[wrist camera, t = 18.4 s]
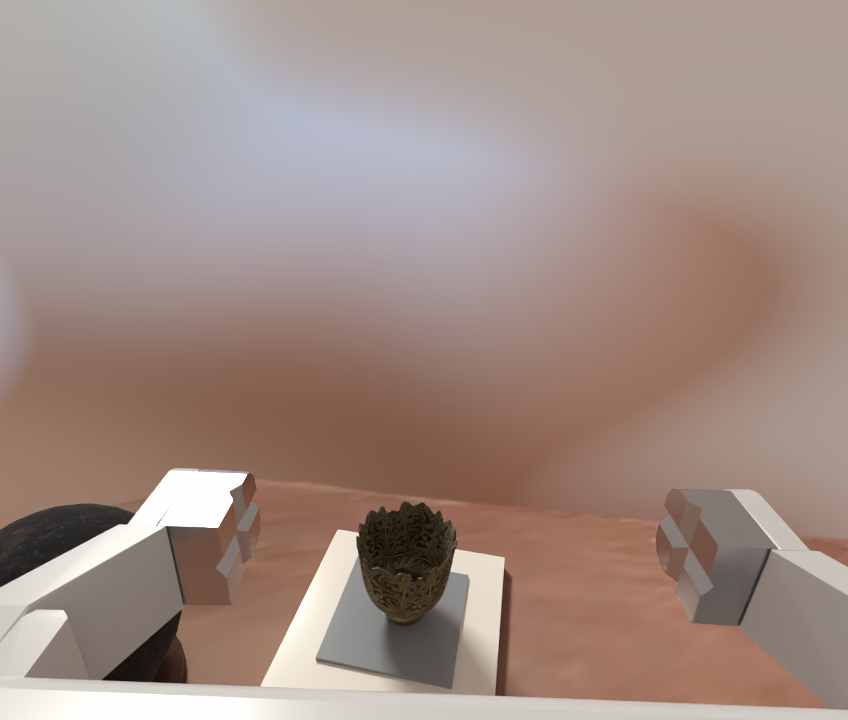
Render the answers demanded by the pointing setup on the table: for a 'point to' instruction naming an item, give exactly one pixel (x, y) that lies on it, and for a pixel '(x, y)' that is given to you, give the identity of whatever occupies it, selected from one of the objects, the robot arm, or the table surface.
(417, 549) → the cup
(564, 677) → the table surface
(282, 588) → the table surface
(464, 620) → the tile plinth
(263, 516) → the table surface
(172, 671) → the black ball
